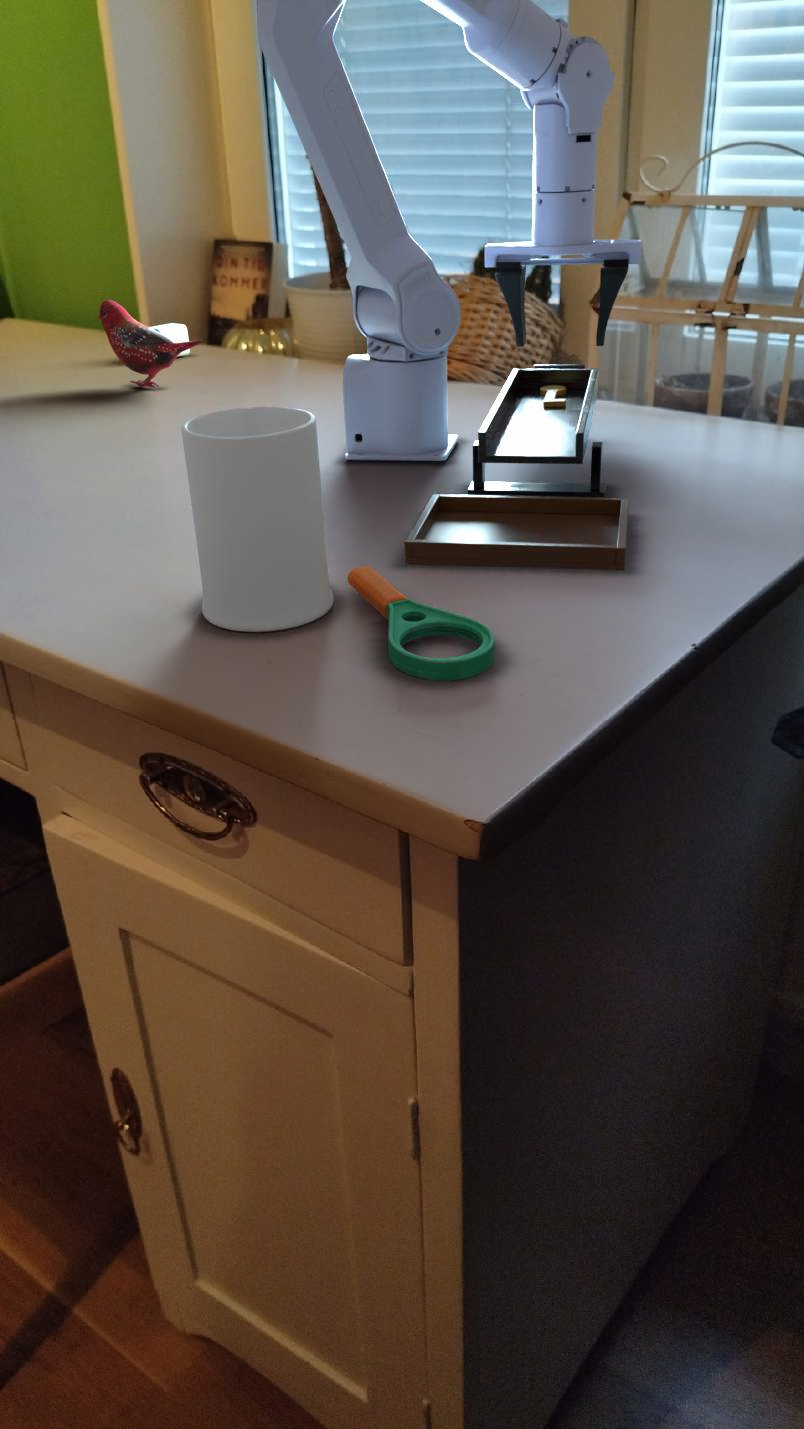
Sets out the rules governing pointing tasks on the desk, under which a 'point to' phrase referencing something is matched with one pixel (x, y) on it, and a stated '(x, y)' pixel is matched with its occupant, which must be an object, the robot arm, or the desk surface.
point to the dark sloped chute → (540, 417)
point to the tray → (521, 532)
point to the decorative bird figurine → (139, 343)
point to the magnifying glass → (423, 630)
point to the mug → (258, 517)
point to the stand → (539, 488)
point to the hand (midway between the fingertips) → (560, 344)
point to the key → (553, 395)
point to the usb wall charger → (174, 333)
